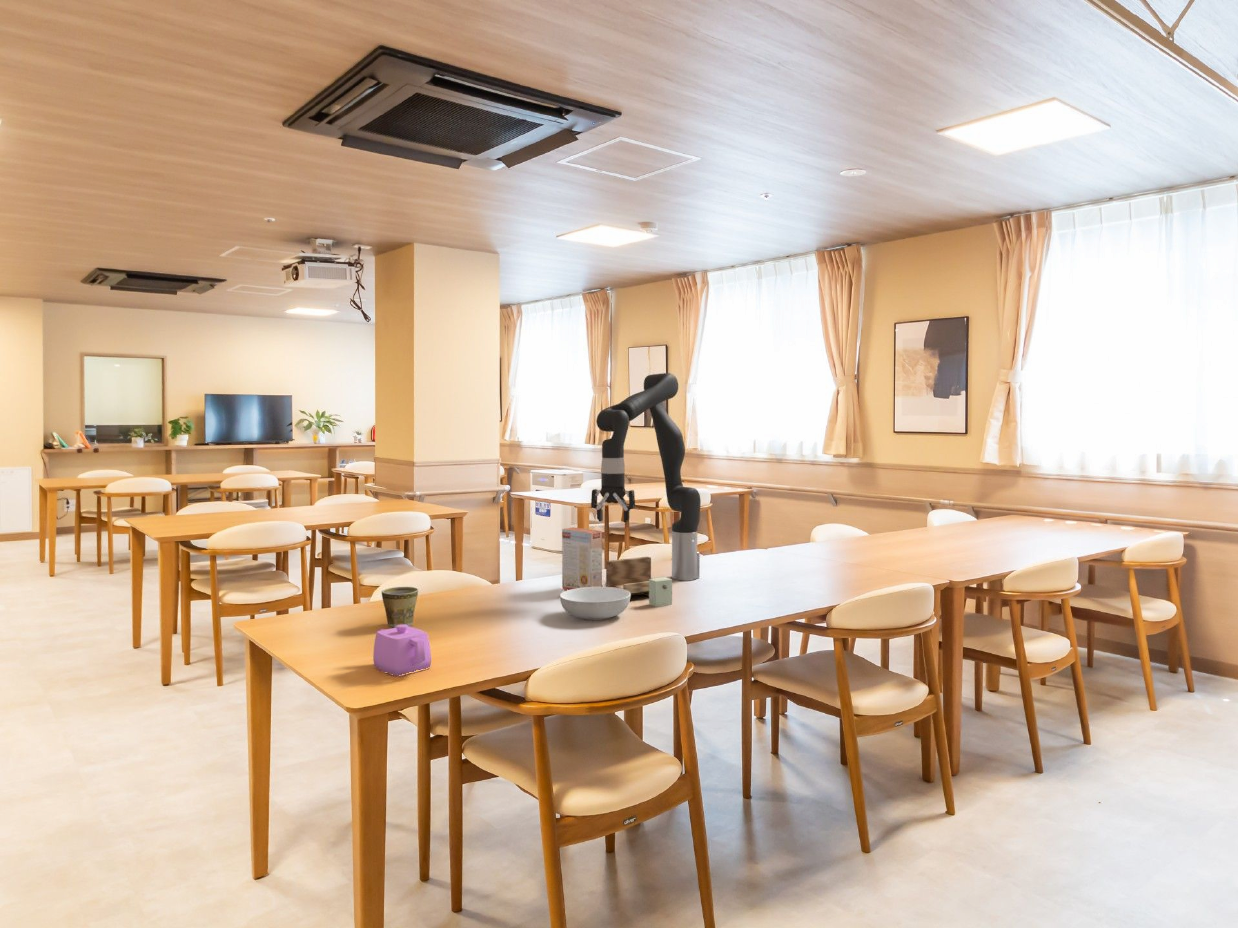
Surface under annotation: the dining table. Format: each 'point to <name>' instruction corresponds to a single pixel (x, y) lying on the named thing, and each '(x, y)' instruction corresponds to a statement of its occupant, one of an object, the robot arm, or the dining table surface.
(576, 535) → the cracker box
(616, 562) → the wooden stand
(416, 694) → the dining table surface
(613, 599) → the serving bowl
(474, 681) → the dining table surface
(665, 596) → the cabinet block
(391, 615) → the ceramic cup
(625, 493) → the robot arm
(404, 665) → the teapot
